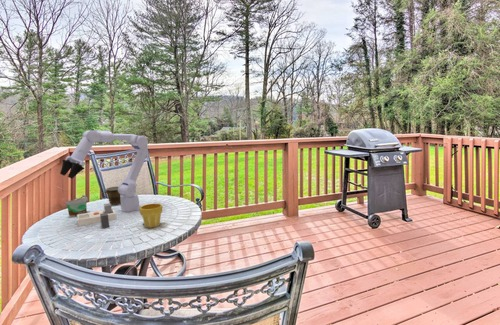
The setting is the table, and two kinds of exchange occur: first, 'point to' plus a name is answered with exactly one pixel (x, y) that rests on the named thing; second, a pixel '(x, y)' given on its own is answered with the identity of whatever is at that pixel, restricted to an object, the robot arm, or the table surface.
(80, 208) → the food container
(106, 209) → the charcoal plug
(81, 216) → the power strip
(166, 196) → the table surface
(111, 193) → the ceramic cup
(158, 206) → the plant pot
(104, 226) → the dark grey square prism
